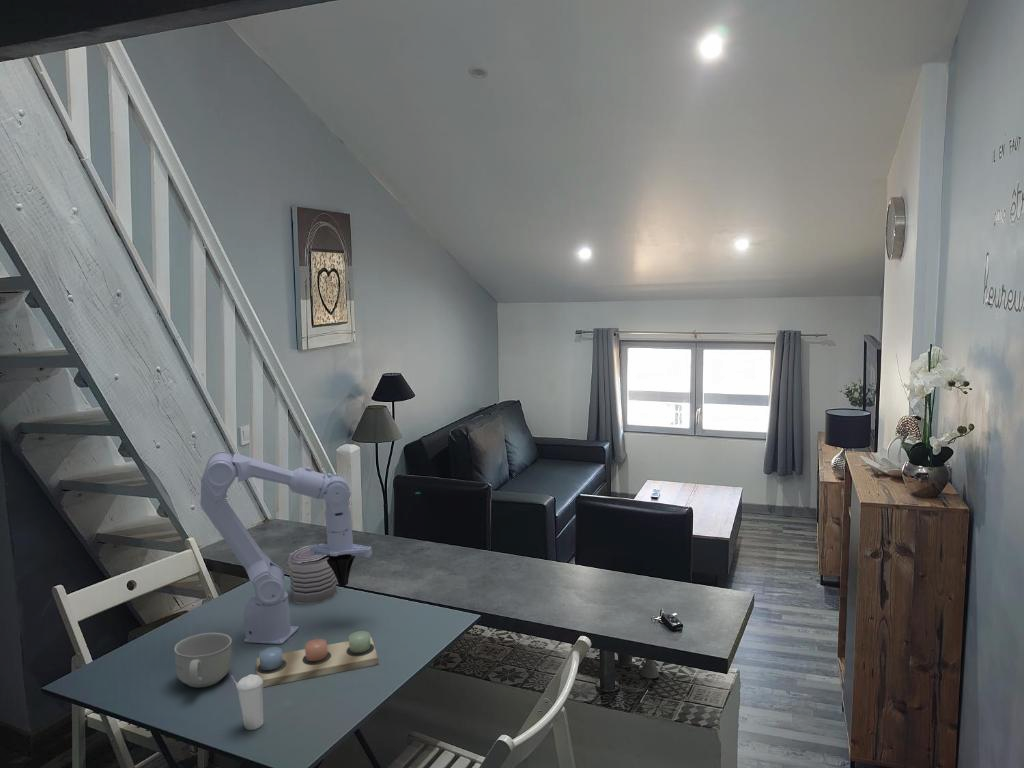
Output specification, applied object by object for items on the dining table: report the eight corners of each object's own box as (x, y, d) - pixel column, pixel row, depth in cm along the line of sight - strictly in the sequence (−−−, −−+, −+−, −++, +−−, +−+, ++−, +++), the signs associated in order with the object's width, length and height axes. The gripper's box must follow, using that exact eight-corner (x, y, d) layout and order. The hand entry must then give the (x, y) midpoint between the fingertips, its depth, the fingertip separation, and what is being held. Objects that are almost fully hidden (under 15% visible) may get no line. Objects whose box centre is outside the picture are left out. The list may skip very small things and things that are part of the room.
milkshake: (240, 719, 137) (234, 668, 136) (269, 716, 137) (264, 665, 136) (233, 734, 133) (227, 681, 131) (263, 731, 133) (258, 678, 132)
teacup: (192, 666, 157) (188, 631, 156) (243, 665, 157) (239, 629, 156) (160, 703, 144) (155, 664, 143) (215, 702, 143) (211, 663, 142)
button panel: (256, 688, 148) (256, 680, 147) (257, 664, 157) (256, 657, 157) (378, 664, 155) (377, 657, 155) (371, 643, 164) (371, 636, 164)
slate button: (260, 671, 150) (259, 659, 150) (260, 661, 154) (259, 649, 154) (283, 667, 151) (281, 655, 151) (282, 657, 156) (281, 645, 155)
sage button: (350, 654, 156) (349, 642, 155) (348, 645, 160) (347, 633, 159) (371, 650, 157) (371, 638, 157) (369, 641, 161) (368, 629, 161)
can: (337, 601, 187) (333, 555, 186) (290, 607, 185) (285, 561, 183) (337, 584, 198) (333, 541, 197) (293, 590, 196) (289, 546, 194)
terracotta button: (306, 663, 153) (305, 650, 153) (305, 653, 157) (304, 641, 157) (328, 658, 154) (327, 646, 154) (326, 649, 158) (325, 637, 158)
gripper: (301, 533, 169) (306, 590, 171) (361, 535, 166) (365, 593, 168) (316, 523, 176) (320, 578, 178) (373, 525, 173) (377, 581, 175)
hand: (343, 585), depth 173 cm, fingers closed
